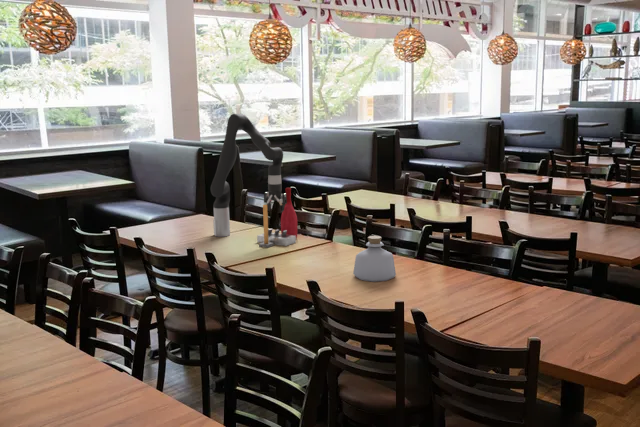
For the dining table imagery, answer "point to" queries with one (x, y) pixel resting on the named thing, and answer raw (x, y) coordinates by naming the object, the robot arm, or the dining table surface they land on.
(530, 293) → the dining table surface
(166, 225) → the dining table surface
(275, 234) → the middle paddle
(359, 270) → the bottle
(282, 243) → the breaker panel
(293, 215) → the wine bottle
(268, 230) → the paddle
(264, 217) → the orange post
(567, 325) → the dining table surface
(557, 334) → the dining table surface
